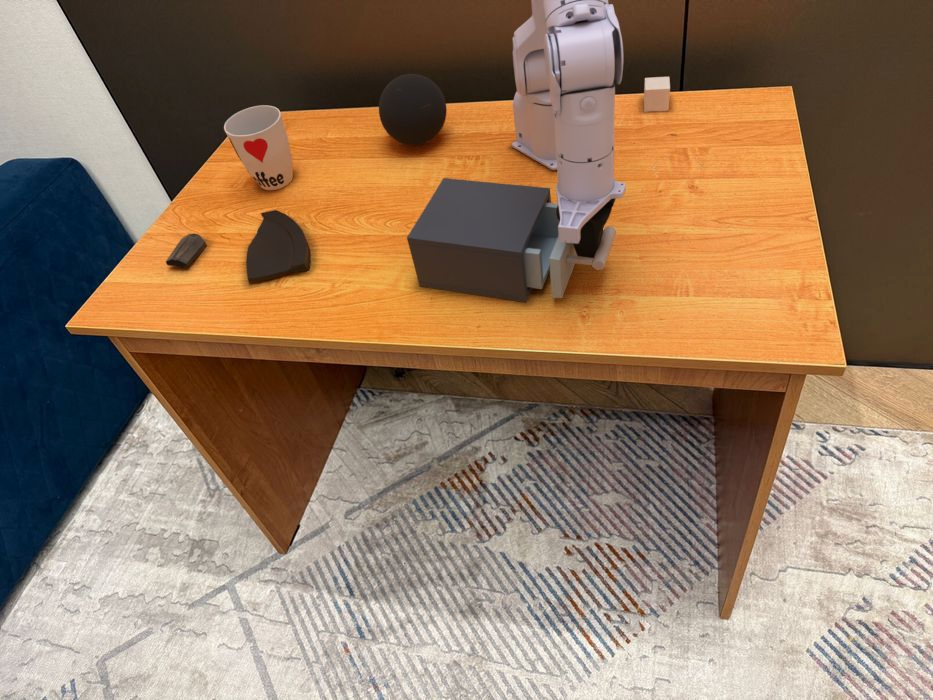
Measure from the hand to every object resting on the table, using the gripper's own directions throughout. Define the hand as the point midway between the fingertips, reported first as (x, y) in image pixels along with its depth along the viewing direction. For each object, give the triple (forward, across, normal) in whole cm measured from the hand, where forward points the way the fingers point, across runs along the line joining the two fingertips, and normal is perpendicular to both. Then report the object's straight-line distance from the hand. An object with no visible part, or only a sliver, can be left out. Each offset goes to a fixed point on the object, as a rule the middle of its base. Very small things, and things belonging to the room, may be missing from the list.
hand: (587, 253), depth 79 cm
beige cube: (+3, +39, -1) cm, 39 cm away
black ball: (+3, +25, +32) cm, 41 cm away
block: (+3, -6, +54) cm, 54 cm away
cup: (+3, +12, +50) cm, 52 cm away
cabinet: (+3, 0, +13) cm, 13 cm away
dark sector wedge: (+3, -3, +41) cm, 41 cm away
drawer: (+3, 0, +6) cm, 6 cm away
